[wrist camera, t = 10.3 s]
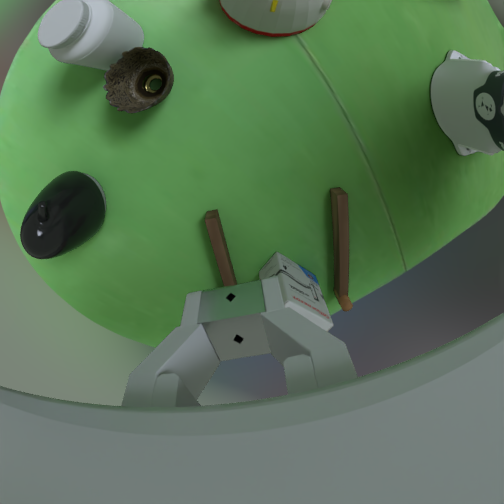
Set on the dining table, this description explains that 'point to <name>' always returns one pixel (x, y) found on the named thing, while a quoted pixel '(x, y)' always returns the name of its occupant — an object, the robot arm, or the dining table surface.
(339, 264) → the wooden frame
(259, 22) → the kitchen timer
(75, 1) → the pill bottle
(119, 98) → the cup
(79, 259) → the dining table surface
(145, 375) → the robot arm
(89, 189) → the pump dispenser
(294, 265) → the ink box
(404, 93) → the dining table surface
